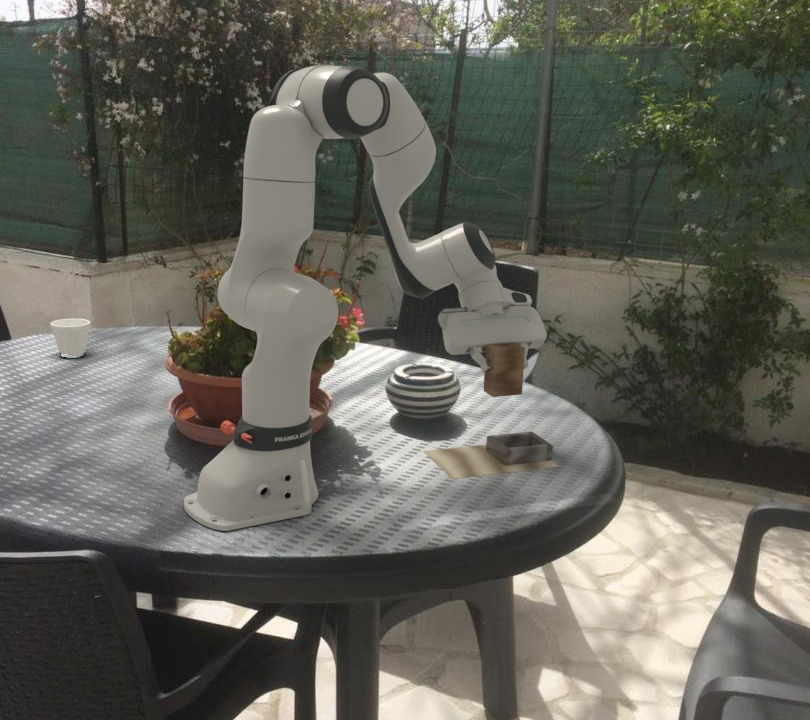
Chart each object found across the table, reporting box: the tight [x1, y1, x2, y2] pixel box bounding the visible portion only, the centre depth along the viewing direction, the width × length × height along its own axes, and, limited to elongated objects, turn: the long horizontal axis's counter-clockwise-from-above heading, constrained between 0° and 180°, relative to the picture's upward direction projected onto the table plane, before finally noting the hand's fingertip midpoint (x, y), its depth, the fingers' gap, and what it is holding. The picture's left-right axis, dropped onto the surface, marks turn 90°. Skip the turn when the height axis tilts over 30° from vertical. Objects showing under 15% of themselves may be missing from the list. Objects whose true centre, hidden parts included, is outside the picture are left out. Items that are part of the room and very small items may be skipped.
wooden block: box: [483, 343, 525, 398], centre depth 155 cm, size 6×4×9 cm, turn 111°
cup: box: [50, 318, 91, 355], centre depth 222 cm, size 10×10×9 cm
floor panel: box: [422, 431, 560, 480], centre depth 158 cm, size 22×14×4 cm, turn 110°
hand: (505, 369), depth 154 cm, fingers closed on wooden block, 6 cm apart
